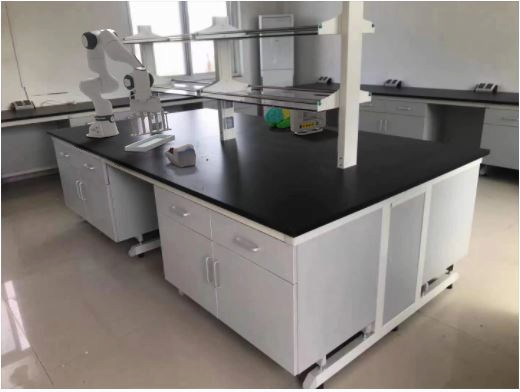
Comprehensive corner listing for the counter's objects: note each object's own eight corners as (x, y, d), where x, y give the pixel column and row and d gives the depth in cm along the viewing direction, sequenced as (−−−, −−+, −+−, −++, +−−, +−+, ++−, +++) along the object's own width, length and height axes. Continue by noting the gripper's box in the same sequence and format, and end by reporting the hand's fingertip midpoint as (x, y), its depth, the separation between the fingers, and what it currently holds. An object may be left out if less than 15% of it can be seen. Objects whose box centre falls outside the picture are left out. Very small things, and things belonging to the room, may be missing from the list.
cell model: (175, 148, 203) (161, 142, 219) (178, 170, 207) (164, 162, 223) (200, 143, 209) (185, 138, 226) (203, 165, 213) (187, 158, 229)
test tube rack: (133, 136, 253) (129, 114, 248) (130, 135, 256) (127, 113, 251) (171, 129, 267) (168, 108, 262) (168, 129, 270) (165, 107, 265)
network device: (319, 127, 283) (319, 97, 276) (328, 129, 276) (328, 98, 269) (288, 133, 271) (287, 101, 264) (297, 135, 264) (296, 103, 257)
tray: (125, 150, 251) (124, 146, 250) (156, 138, 280) (156, 134, 279) (145, 151, 246) (144, 147, 245) (175, 138, 275) (174, 134, 274)
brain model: (276, 130, 279) (276, 107, 275) (258, 127, 294) (258, 105, 289) (302, 126, 293) (303, 104, 288) (284, 123, 307) (284, 102, 302)
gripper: (162, 95, 252) (165, 118, 257) (133, 95, 259) (136, 118, 264) (156, 96, 247) (159, 120, 251) (126, 96, 254) (130, 120, 258)
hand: (147, 119), depth 258 cm, fingers closed on test tube rack, 5 cm apart
